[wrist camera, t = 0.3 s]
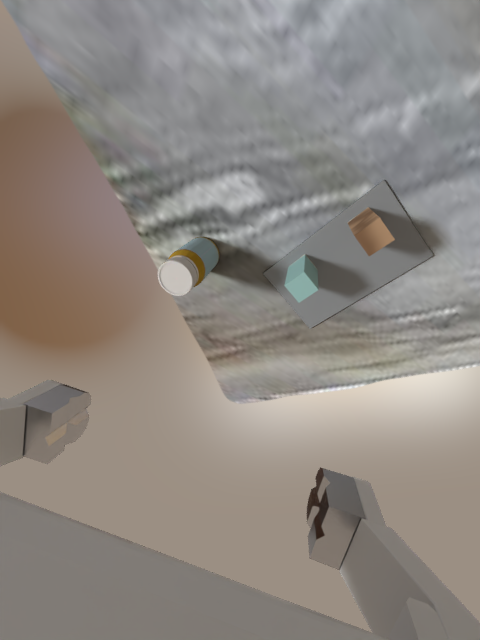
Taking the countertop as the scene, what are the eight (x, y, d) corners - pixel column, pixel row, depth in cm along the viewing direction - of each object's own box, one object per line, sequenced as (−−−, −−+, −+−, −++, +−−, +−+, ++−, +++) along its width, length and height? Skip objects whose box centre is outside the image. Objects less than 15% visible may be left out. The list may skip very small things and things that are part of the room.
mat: (383, 179, 47) (384, 180, 47) (432, 254, 51) (433, 255, 51) (263, 273, 59) (263, 273, 59) (309, 327, 63) (309, 328, 63)
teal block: (305, 254, 55) (303, 271, 47) (317, 269, 56) (318, 289, 48) (288, 266, 57) (284, 285, 49) (300, 281, 58) (298, 302, 50)
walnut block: (368, 207, 49) (379, 217, 41) (380, 225, 50) (394, 239, 42) (347, 222, 51) (354, 235, 42) (359, 240, 52) (369, 256, 43)
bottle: (226, 253, 59) (203, 280, 46) (206, 275, 62) (178, 305, 50) (201, 228, 58) (170, 249, 45) (181, 252, 61) (147, 277, 48)
